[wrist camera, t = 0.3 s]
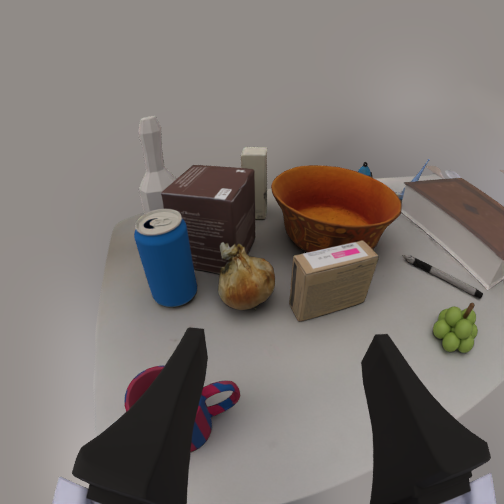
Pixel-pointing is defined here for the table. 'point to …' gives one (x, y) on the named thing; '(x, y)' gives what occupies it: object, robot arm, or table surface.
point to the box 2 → (257, 176)
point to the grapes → (456, 328)
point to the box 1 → (214, 211)
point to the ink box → (331, 279)
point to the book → (460, 224)
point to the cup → (203, 413)
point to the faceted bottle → (153, 165)
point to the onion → (244, 278)
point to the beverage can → (166, 256)
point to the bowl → (333, 206)
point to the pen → (444, 276)
